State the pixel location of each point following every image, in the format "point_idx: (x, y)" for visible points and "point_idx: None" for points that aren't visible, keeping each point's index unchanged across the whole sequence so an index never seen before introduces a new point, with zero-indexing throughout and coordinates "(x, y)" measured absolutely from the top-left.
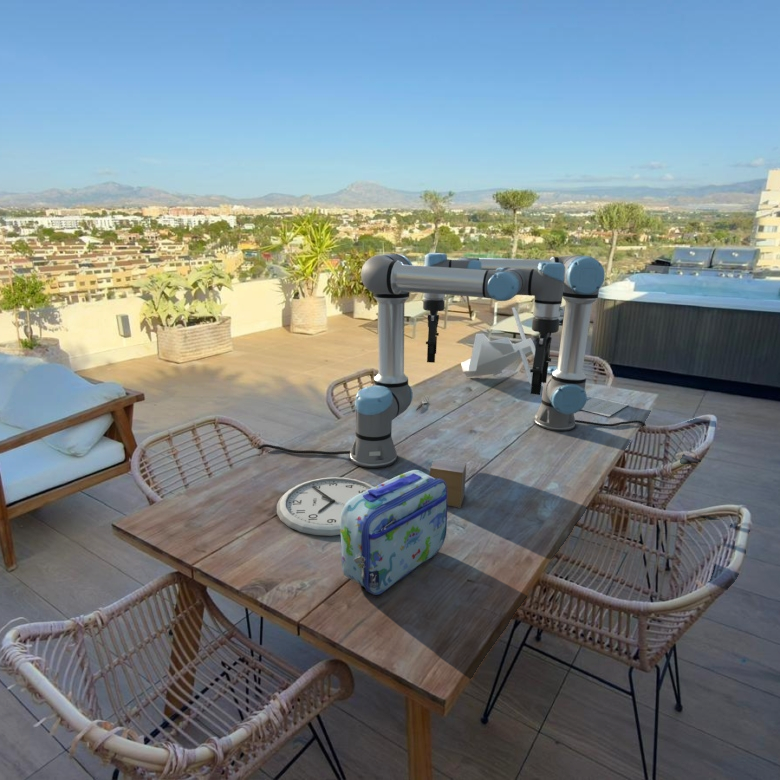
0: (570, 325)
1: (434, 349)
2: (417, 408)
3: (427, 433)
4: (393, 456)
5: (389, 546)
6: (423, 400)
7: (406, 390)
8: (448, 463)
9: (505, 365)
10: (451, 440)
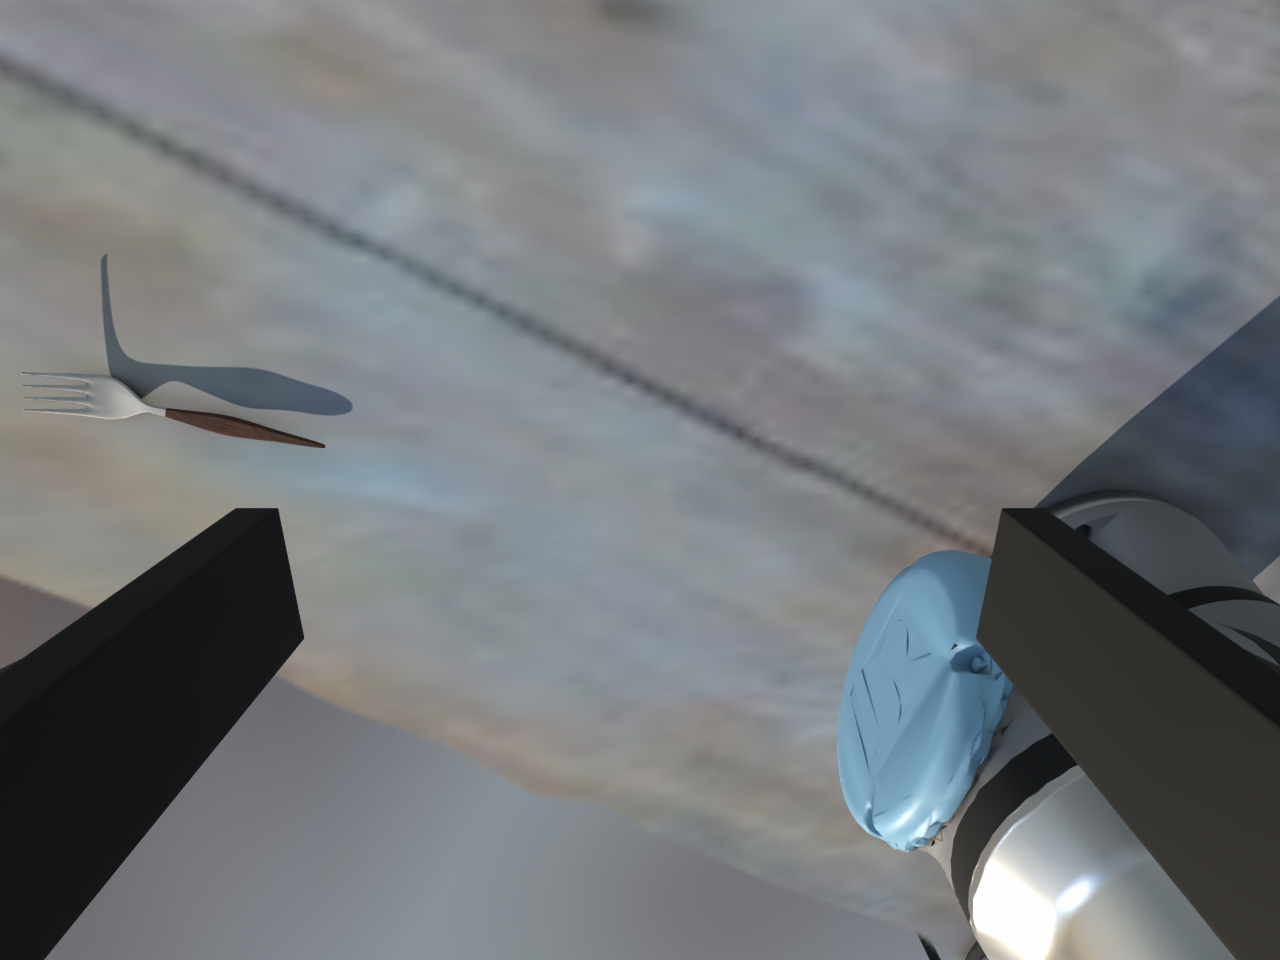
0: None
1: (1262, 688)
2: (291, 440)
3: (713, 343)
4: (1186, 516)
5: None
6: (87, 409)
7: None
8: None
9: None
10: (820, 172)
